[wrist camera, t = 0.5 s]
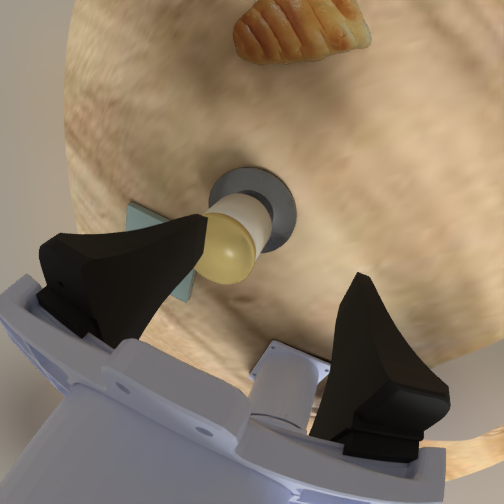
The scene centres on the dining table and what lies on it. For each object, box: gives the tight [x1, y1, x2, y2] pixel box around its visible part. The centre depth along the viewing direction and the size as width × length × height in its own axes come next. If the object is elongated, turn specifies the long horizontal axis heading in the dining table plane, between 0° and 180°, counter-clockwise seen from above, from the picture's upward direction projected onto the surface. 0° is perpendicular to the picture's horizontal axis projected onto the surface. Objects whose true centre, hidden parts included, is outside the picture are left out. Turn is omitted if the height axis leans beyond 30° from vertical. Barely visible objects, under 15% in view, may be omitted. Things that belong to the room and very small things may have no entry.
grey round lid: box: [209, 167, 297, 253], centre depth 22 cm, size 8×8×2 cm
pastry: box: [233, 0, 371, 65], centre depth 13 cm, size 9×7×4 cm
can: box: [194, 193, 272, 284], centre depth 19 cm, size 5×5×4 cm
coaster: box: [126, 202, 196, 303], centre depth 29 cm, size 9×9×1 cm
